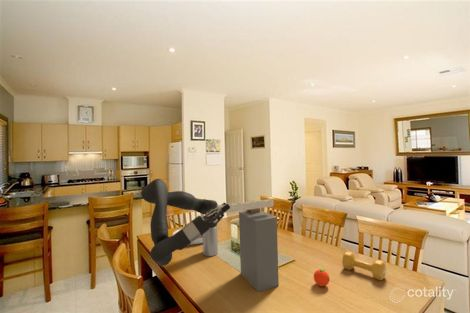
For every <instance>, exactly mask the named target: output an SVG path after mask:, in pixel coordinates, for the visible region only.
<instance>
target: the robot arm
mask: <svg viewBox="0 0 470 313" xmlns="http://www.w3.org/2000/svg"><path fill="white" fill-rule="evenodd" d="M140 194H141V195H140V196H141V198H142V199H143V200H144V201H145V202H147V203H149V204H154V208H153V212H152V215H151V219H150V237H151V241H152V243H153V247H152V248H151V250H150V253H149V255H150V259H151V260H152V261H154V262H155V263H156V264H157V265H158V266H162V267H163V266H167V265H168V264H169V263H171V261H172V259H173V253H174V252H176V251H178V250H179V251H182V250H183V249H185V248H186V247H188V246H190V245H189V244H190V243H192V242H193V241H195V240H196V239H198V238H199V237H200V236H202V237H203V243H202V254H203V255H204V256H205V257H215V256H216V255H218V254H219V248H218V244H219V243H218V223H219V222H220V221H221V220H222V219H223V218H224V217H225V214H226V213H225V212H226V211H227V210H228V209H230V206H229V205H228V204H229V203H226V202H223V203H222V204H221V205H225V204H226V205H225V206H224V207H223V208H221V209H220V210H218V211H217V205H219V204H218V202H217V201H216V200H213V199H202V198H197V197H195V195H193V194H191V193H189V192H186V191H181V190H178V191H177V190H176V191H175V190H174V191H170V192H168V186H167V183H166V182H165V181H164V180H163V179H161V178H155V179H153V180H152V181H151V182H149V183H148V184H147V185H145V186H144V187H142V189H141V191H140ZM168 207H172V208H177V209H181V210H186V211H195V212H197V213H198V214H199V213H200V214H201V215H203V217H202V216H201V215H197V216H196V217H195V218H193V219H192V220H191V221H190V222H188V223H187V224H185V225H184V226H183V227H181V228H182V229H181V230H180V231H178V232H177V233H176V234H174V235H170V236H169V229H168V220H167V211H168V210H167V209H168Z"/></svg>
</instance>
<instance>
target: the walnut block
mask: <svg viewBox="0 0 470 313" xmlns="http://www.w3.org/2000/svg"><path fill="white" fill-rule="evenodd" d="M250 201H251V200H248V201H246V202H250ZM260 210H261V208H257V209H250V210H246V211H247V212H249V213H258V212H260Z"/></svg>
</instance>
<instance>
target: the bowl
mask: <svg viewBox="0 0 470 313" xmlns="http://www.w3.org/2000/svg"><path fill="white" fill-rule="evenodd" d="M182 228H183V227H181V228H178V229H176V230H174V231H173V233H172V235H171V236H173V235H174V234H176V233H177V232H178V231H180V230H181V229H182ZM201 244H203V237H202V236H200V237H199V238H198V239H196V240H195V241H193V242H192V243H190V244H189V245H188V246H194V245H195V246H196V245H201Z"/></svg>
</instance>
